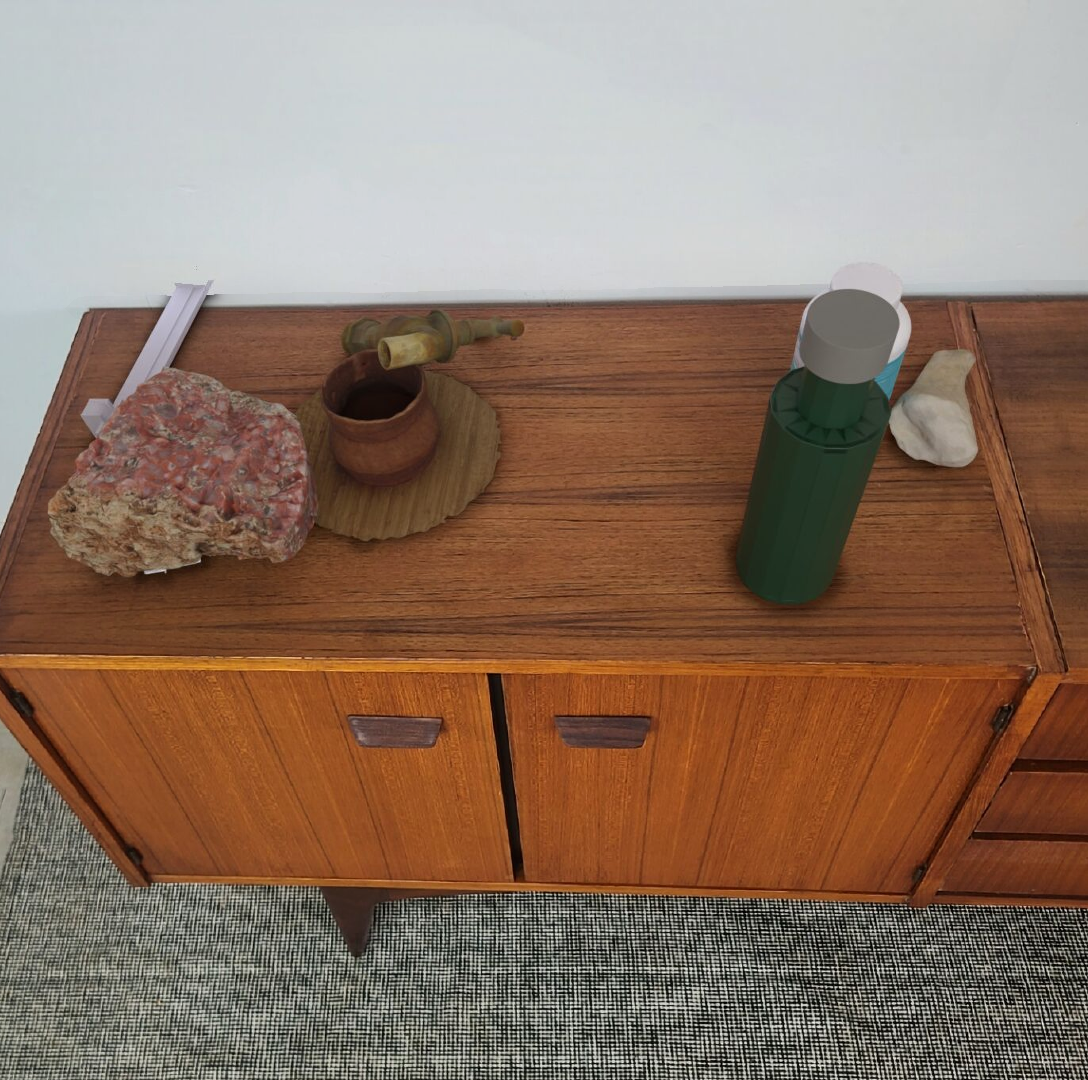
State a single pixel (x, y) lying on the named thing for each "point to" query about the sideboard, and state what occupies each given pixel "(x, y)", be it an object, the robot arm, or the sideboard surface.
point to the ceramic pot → (395, 447)
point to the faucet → (421, 337)
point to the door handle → (153, 350)
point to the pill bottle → (882, 285)
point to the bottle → (808, 483)
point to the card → (163, 569)
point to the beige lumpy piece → (937, 412)
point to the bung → (848, 336)
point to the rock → (187, 480)
